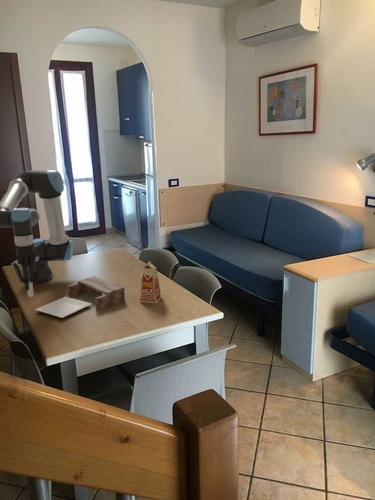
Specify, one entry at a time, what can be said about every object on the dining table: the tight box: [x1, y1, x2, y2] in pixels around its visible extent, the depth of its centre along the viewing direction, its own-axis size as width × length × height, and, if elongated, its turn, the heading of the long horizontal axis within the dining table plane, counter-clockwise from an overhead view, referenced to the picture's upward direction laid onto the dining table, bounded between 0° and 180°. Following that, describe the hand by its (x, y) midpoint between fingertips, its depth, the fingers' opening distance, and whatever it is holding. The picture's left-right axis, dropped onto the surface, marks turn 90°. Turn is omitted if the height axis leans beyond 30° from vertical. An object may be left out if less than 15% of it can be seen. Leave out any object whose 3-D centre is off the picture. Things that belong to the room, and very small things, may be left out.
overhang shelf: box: [67, 275, 126, 312], centre depth 207 cm, size 16×26×7 cm, turn 46°
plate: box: [34, 296, 93, 319], centre depth 195 cm, size 19×19×2 cm
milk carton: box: [138, 261, 162, 304], centre depth 203 cm, size 9×9×20 cm
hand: (30, 296), depth 182 cm, fingers closed
